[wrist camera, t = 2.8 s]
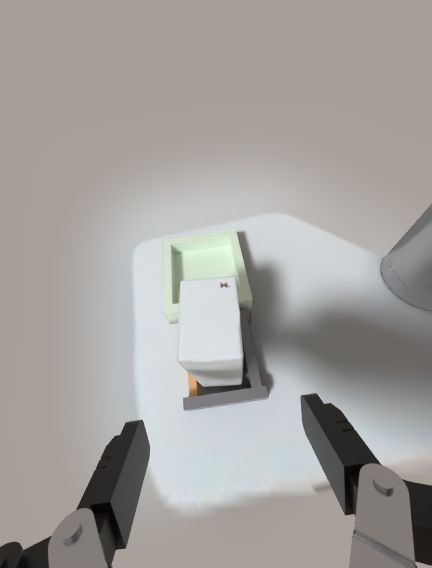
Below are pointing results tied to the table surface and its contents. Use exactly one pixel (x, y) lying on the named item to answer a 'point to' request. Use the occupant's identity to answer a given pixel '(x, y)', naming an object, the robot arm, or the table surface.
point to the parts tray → (202, 266)
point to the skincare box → (210, 331)
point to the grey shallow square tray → (234, 396)
